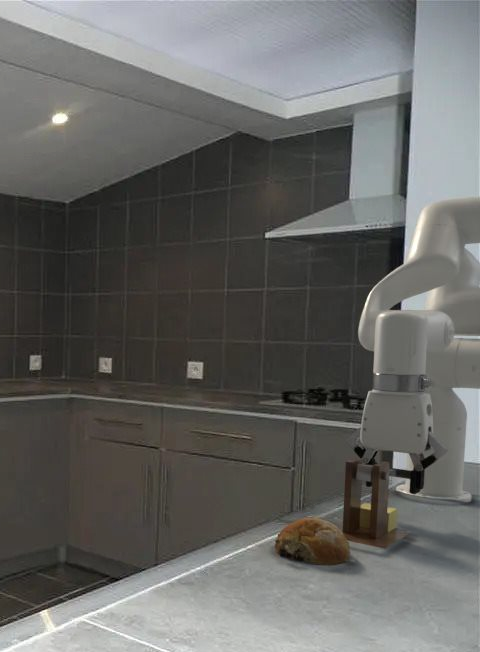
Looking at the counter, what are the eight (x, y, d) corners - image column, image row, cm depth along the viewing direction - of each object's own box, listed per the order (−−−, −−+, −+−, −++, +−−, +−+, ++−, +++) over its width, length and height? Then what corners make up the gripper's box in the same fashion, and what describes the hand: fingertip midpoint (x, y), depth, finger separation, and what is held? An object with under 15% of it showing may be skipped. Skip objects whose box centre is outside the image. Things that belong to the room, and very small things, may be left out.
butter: (364, 521, 121) (365, 502, 121) (396, 527, 118) (397, 508, 117) (354, 525, 119) (355, 507, 119) (388, 532, 115) (389, 513, 115)
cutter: (345, 526, 123) (349, 452, 122) (411, 539, 115) (415, 461, 114) (316, 540, 115) (319, 462, 114) (384, 556, 107) (388, 472, 106)
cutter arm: (375, 476, 125) (377, 462, 125) (414, 482, 121) (416, 468, 121) (343, 477, 115) (344, 462, 115) (383, 483, 111) (385, 468, 111)
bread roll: (349, 596, 101) (377, 546, 100) (284, 565, 101) (311, 515, 100) (317, 571, 111) (341, 526, 110) (258, 543, 111) (282, 498, 110)
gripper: (464, 386, 117) (458, 494, 118) (352, 380, 130) (347, 477, 131) (451, 389, 112) (444, 502, 114) (335, 382, 125) (331, 484, 126)
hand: (392, 488), depth 122 cm, fingers closed on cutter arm, 6 cm apart
